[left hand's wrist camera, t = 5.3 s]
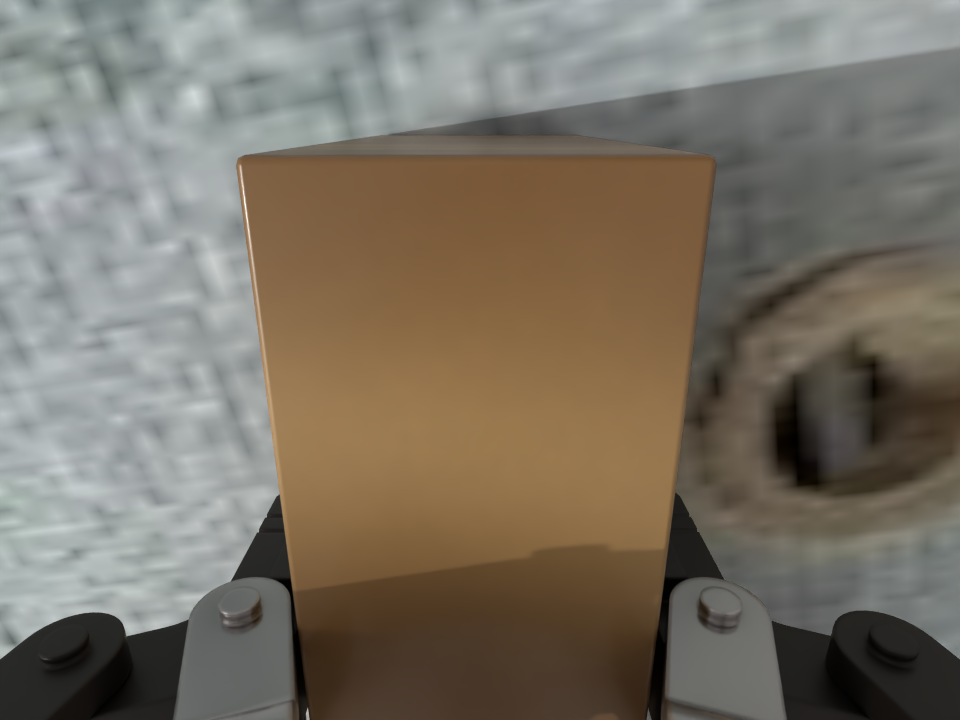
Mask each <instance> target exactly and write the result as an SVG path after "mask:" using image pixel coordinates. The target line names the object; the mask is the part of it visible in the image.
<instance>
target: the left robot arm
mask: <svg viewBox="0 0 960 720" xmlns="http://www.w3.org/2000/svg"><path fill="white" fill-rule="evenodd" d="M307 708H308V703H307V695H306V688H305V680H304V673H303V665H302V658H301V650H300V643H299V635H298V628H297V620H296V612H295V605H294V597H293V590H292V582H291V575H290V567H289V560H288V552H287V545H286V537H285V530H284V522H283V514H282V507H281V499H280V494H279V495H278V496H277V497H276V499H275V501H274V503H273V504H272V506H271V508H270V510H269V512H268V514H267V518H265V519H264V521H263V523H262V525H261V527H260V528H259V533H257V534H256V536H255V538H254V540H253V541H252V543H251V545H250V547H249V549H248V551H247V553H246V554H245V556H244V558H243V560H242V562H241V564H240V566H239V567H238V569H237V571H236V573H235V575H234V577H233V579H232V580H231V582H228V583H226V584H224V585H221V586H219V587H217V588H216V589H214V590H212V591H211V592H209V593H208V594H207V595H205V596H204V597H203V598H202V599H201V600H200V601H199V602H198V603H197V604H196V606H195V607H194V608H193V610H192V612H191V614H190V617H189V620H187V621H184V622H181V623H179V624H176V625H172V626H169V627H165V628H161V629H157V630H152V631H148V632H144V633H140V634H135V635H131V636H127V637H126V633H125V629H124V626H123V624H122V622H121V621H120V620H119V619H118V618H116V617H115V616H112V615H110V614H106V613H83V614H78V615H74V616H70V617H67V618H64V619H61V620H59V621H56V622H54V623H52V624H50V625H48V626H45V627H44V628H42V629H40V630H39V631H37V632H35V633H34V634H32V635H31V636H30V637H28V638H27V639H25V640H24V641H23V642H22V643H20V644H19V645H18V646H17V647H15V648H14V649H13V650H12V651H10V652H9V653H8V654H7V655H5V656H4V657H3V658H2V659H0V720H306V711H307ZM648 708H649V712H650V715H651V719H652V720H960V659H958V658H957V657H956V656H955V655H953V654H952V653H951V652H950V651H948V650H947V649H946V648H945V647H943V646H942V645H941V644H940V643H938V642H937V641H936V640H935V639H933V638H932V637H931V636H929V635H928V634H927V633H925V632H924V631H922V630H921V629H919V628H917V627H916V626H914V625H912V624H910V623H908V622H906V621H904V620H901V619H899V618H896V617H894V616H890V615H887V614H884V613H879V612H873V611H853V612H848V613H846V614H843V615H842V616H840V617H839V618H838V619H837V620H836V621H835V624H834V626H833V630H832V634H831V636H828V635H824V634H820V633H816V632H811V631H807V630H803V629H798V628H794V627H790V626H786V625H783V624H779V623H776V622H774V621H771V617H770V614H769V612H768V610H767V608H766V607H765V606H764V604H763V603H762V602H761V601H760V600H759V599H758V598H757V597H756V596H755V595H753V594H752V593H751V592H749V591H748V590H746V589H744V588H743V587H741V586H739V585H736V584H734V583H731V582H729V581H726V580H724V579H723V577H722V575H721V573H720V571H719V569H718V567H717V565H716V563H715V562H714V560H713V558H712V556H711V554H710V552H709V550H708V548H707V547H706V545H705V543H704V541H703V539H702V537H701V535H700V533H699V532H697V528H696V526H695V524H694V522H693V520H692V518H691V517H689V513H688V511H687V509H686V507H685V505H684V503H683V501H682V499H681V498H680V496H679V495H678V494H676V493H675V498H674V506H673V514H672V522H671V529H670V537H669V545H668V553H667V561H666V569H665V577H664V585H663V593H662V601H661V609H660V617H659V624H658V632H657V640H656V648H655V656H654V664H653V672H652V680H651V688H650V696H649V704H648Z"/></svg>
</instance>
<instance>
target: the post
mask: <svg viewBox="0 0 960 720" xmlns="http://www.w3.org/2000/svg"><path fill="white" fill-rule="evenodd" d="M236 168H237V175H238V183H239V190H240V198H241V205H242V213H243V220H244V228H245V235H246V243H247V251H248V258H249V266H250V273H251V281H252V288H253V296H254V303H255V311H256V318H257V326H258V333H259V341H260V349H261V356H262V364H263V371H264V379H265V386H266V394H267V401H268V409H269V416H270V424H271V431H272V439H273V447H274V454H275V462H276V469H277V477H278V484H279V492H280V499H281V507H282V514H283V522H284V530H285V537H286V545H287V552H288V560H289V567H290V575H291V582H292V590H293V597H294V605H295V612H296V620H297V628H298V635H299V643H300V650H301V658H302V665H303V673H304V680H305V688H306V695H307V703H308V710H309V718H310V720H646V719H647V712H648V704H649V696H650V688H651V680H652V672H653V664H654V656H655V648H656V640H657V632H658V624H659V617H660V609H661V601H662V593H663V585H664V577H665V569H666V561H667V553H668V545H669V537H670V529H671V522H672V514H673V506H674V498H675V490H676V482H677V474H678V466H679V458H680V450H681V442H682V434H683V427H684V419H685V411H686V403H687V395H688V387H689V379H690V371H691V363H692V355H693V347H694V339H695V332H696V324H697V316H698V308H699V300H700V292H701V284H702V276H703V268H704V260H705V252H706V244H707V237H708V229H709V221H710V213H711V205H712V197H713V189H714V181H715V173H716V161H715V158H714V157H712V156H710V155H708V154H701V153H694V152H687V151H681V150H674V149H667V148H660V147H653V146H647V145H640V144H633V143H626V142H619V141H613V140H606V139H599V138H592V137H585V136H579V135H380V136H373V137H366V138H359V139H352V140H345V141H339V142H332V143H325V144H318V145H311V146H304V147H297V148H290V149H284V150H277V151H270V152H263V153H256V154H249V155H244V156H242V157H240V158H238V160H237V165H236Z"/></svg>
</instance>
